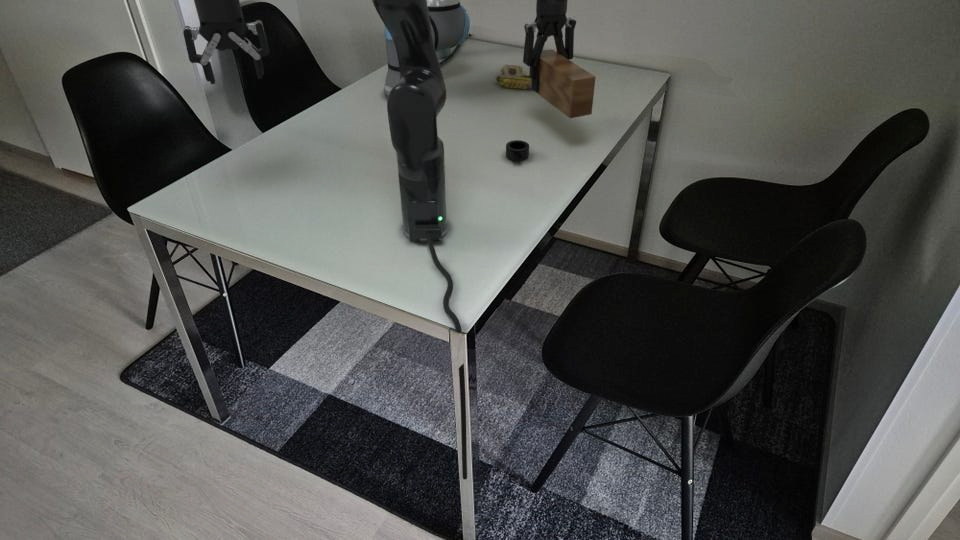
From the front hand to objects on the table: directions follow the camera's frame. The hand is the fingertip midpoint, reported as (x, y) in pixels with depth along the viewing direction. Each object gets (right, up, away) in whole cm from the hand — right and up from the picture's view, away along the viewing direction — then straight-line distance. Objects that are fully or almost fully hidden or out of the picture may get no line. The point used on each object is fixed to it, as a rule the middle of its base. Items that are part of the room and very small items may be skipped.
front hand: (236, 80), depth 121 cm
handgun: (+63, +22, +77) cm, 102 cm away
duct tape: (+56, -8, +38) cm, 68 cm away
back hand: (+64, +12, +46) cm, 80 cm away
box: (+67, +7, +41) cm, 79 cm away
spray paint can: (+34, +38, +96) cm, 109 cm away
